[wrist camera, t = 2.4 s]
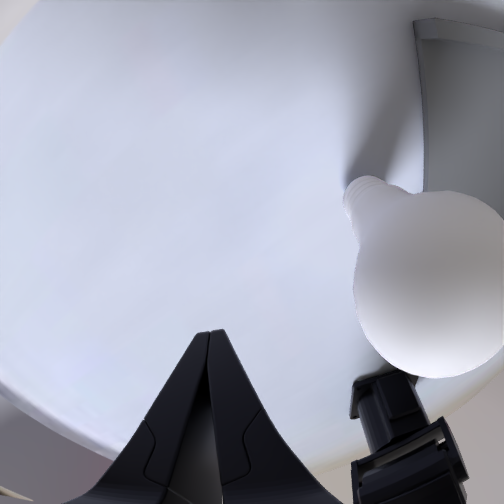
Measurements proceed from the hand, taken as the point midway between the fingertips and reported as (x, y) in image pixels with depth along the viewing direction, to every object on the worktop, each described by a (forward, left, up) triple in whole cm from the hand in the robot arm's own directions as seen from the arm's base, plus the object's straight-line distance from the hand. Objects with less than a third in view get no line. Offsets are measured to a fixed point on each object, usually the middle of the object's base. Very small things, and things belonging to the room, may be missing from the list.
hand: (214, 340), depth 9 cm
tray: (0, -17, -8) cm, 19 cm away
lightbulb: (0, -7, -8) cm, 11 cm away
